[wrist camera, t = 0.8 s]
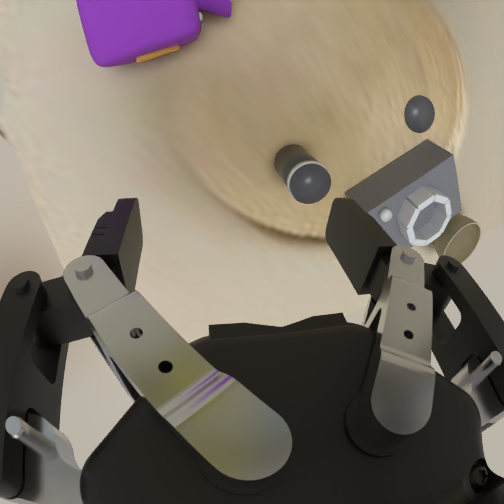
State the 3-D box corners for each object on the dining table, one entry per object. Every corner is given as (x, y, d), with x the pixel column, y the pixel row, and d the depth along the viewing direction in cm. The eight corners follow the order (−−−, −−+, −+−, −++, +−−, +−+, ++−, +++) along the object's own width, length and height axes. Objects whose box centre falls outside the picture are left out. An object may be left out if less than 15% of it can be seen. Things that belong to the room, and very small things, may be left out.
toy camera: (244, 24, 24) (264, 11, 16) (128, 80, 26) (101, 90, 18) (205, -49, 17) (209, -85, 10) (89, 9, 19) (50, -4, 11)
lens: (298, 136, 33) (319, 156, 28) (315, 165, 36) (338, 189, 31) (266, 157, 34) (281, 180, 29) (285, 184, 37) (302, 212, 32)
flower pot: (415, 222, 45) (439, 247, 40) (454, 191, 43) (479, 212, 37) (426, 253, 51) (446, 277, 45) (461, 225, 48) (482, 246, 43)
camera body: (427, 139, 36) (465, 162, 29) (439, 192, 42) (470, 219, 36) (344, 192, 39) (373, 225, 33) (368, 241, 46) (393, 275, 39)
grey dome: (424, 89, 31) (428, 90, 30) (434, 121, 34) (438, 123, 34) (397, 104, 32) (401, 105, 32) (409, 137, 36) (413, 139, 35)
